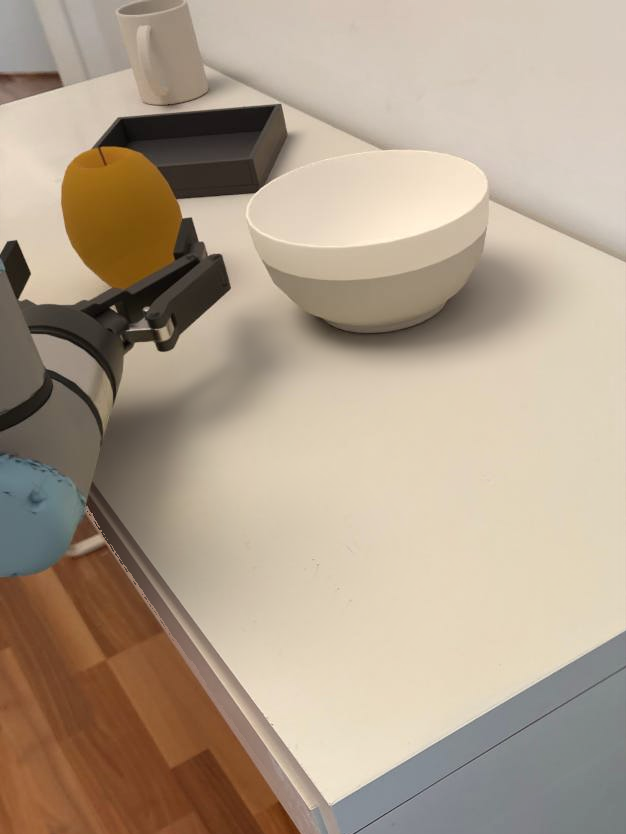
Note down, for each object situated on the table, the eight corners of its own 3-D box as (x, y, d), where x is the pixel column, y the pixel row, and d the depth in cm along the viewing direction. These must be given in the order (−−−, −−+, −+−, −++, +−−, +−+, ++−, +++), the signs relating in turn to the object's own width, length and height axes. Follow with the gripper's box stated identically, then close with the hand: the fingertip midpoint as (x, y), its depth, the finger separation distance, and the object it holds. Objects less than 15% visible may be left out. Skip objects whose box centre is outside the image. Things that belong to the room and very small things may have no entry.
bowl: (224, 333, 80) (193, 226, 73) (357, 239, 90) (340, 139, 84) (417, 379, 72) (400, 264, 66) (537, 271, 83) (532, 163, 77)
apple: (223, 276, 87) (184, 136, 79) (138, 322, 82) (87, 178, 74) (154, 254, 92) (110, 120, 84) (69, 297, 87) (14, 158, 79)
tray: (81, 206, 102) (69, 173, 100) (127, 147, 114) (117, 117, 112) (260, 192, 101) (252, 158, 99) (287, 134, 113) (281, 103, 111)
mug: (180, 80, 132) (157, -7, 125) (226, 88, 128) (204, -1, 121) (115, 104, 127) (87, 16, 120) (160, 114, 122) (134, 23, 115)
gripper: (-115, 461, 64) (-32, 312, 79) (262, 410, 65) (274, 271, 80) (-179, 357, 59) (-77, 218, 74) (233, 302, 59) (251, 176, 74)
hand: (106, 246), depth 77 cm, fingers open, 13 cm apart
